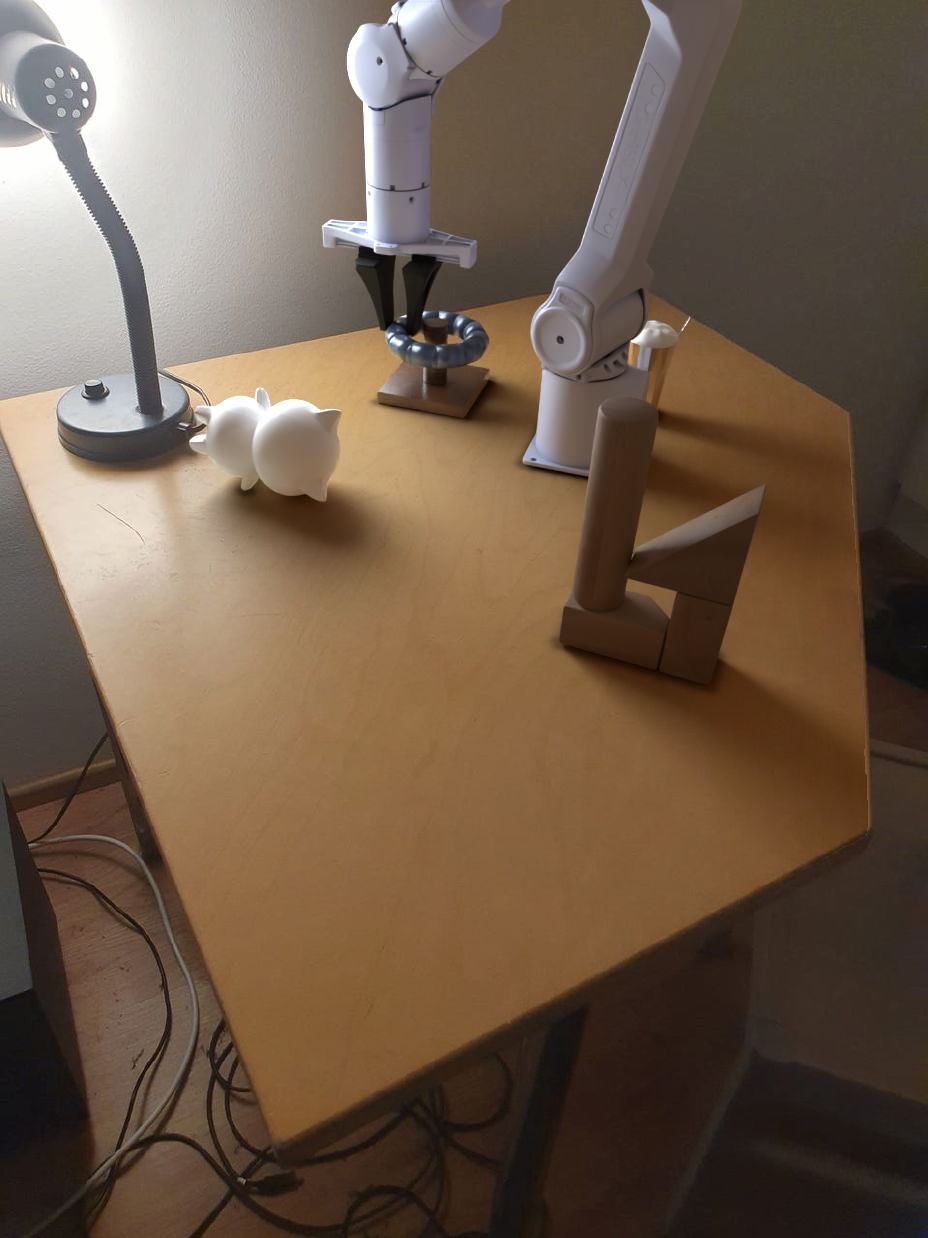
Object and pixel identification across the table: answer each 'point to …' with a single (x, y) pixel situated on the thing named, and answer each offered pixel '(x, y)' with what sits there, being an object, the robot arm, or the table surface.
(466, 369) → the stand
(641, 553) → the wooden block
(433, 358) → the ring
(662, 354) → the milkshake
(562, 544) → the table surface
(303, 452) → the cat figurine
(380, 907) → the table surface
